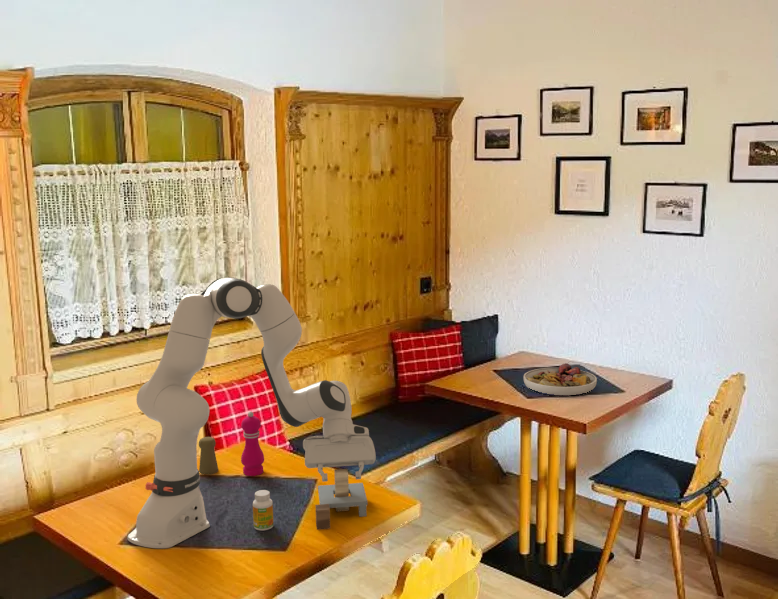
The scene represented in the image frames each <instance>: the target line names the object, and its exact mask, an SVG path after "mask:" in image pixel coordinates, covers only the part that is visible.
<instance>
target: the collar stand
mask: <svg viewBox="0 0 778 599" xmlns="http://www.w3.org/2000/svg"><path fill="white" fill-rule="evenodd" d="M348 487H349V496H348V497H335V484H326V485H325V484H324V485H322V484H321V485H318V486H317V491H318V502H319V505H321V504H329V508H330V509H333V508H335V509H336V508H337V507H349V508H351V507H358V516H359V517H367V506H368V499H367V498H368V497H367V495H366V491H365V490H366V489H365V487H364V484H363V482H356V483H348Z"/></svg>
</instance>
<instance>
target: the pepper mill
mask: <svg viewBox="0 0 778 599" xmlns="http://www.w3.org/2000/svg"><path fill="white" fill-rule="evenodd" d="M240 425H241V429H242V430H243V432H242V433H243V437H244V439H245V440H244V441H245V442H244V444H245V445H244V449H243V451H242V454H241V458H240V461H241V464H242V465H243V468H242V473H243V475H244V474H245V475H244V476H247V477H257V476H260V475H262V474H263V473H264V466H263V464H264V461H265V455H264V452H263V450H262V449H261V446H260V443H259V437H260V435H261V434H260V429H261V426H262V424H261V420H260V419H259V418H258V417H257V416H255V415H254V412H253V411H249V412H247V416H245V417H244V418H243V419H242V420H241V424H240ZM256 475H257V476H256Z"/></svg>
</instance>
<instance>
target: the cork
mask: <svg viewBox="0 0 778 599" xmlns="http://www.w3.org/2000/svg"><path fill="white" fill-rule="evenodd" d="M198 447H199V449H200V453H199V454H200V456H199V465H198V468H199V469H198V470H199V472H200V473H201V474H200V473H199V474H200V475H203V474H208V475H207V476H209V474H210V475H213V474H217V473H218V472H219V467H218V461H217V456H216V452H215V451H216V450H215V447H216V439H215V438H214V437H212V436H204V437H202V438H200V439H199V441H198Z"/></svg>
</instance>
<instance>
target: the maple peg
mask: <svg viewBox="0 0 778 599" xmlns="http://www.w3.org/2000/svg"><path fill="white" fill-rule="evenodd" d="M348 484H349V472H348V468H344V469H343V468H341V469H340V468H339V469H334V485H335V494H334V497H348V496H350V493H349V487H348ZM335 511H336V512H346V511H350V507H337V508H335Z"/></svg>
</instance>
